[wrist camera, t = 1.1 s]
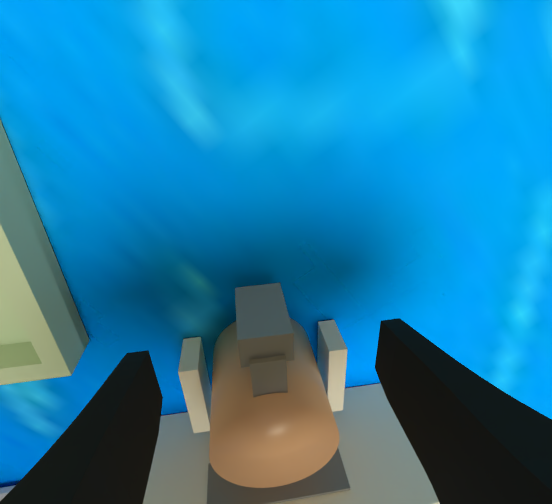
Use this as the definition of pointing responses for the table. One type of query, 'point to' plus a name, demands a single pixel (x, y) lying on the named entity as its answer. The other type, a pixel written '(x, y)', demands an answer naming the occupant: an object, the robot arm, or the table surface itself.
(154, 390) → the robot arm
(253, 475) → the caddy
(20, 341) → the tray
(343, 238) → the table surface
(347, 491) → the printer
